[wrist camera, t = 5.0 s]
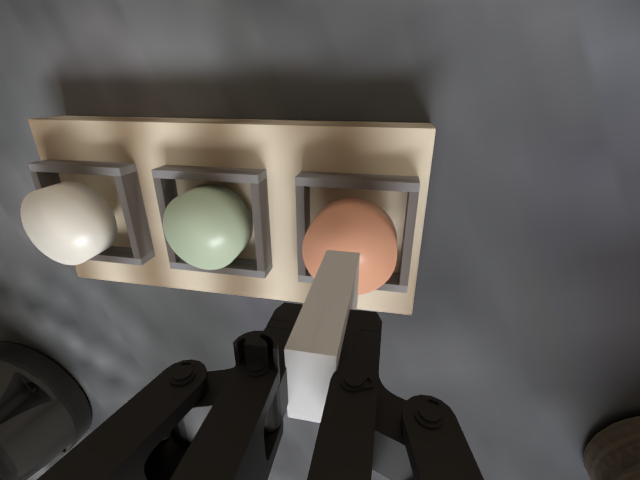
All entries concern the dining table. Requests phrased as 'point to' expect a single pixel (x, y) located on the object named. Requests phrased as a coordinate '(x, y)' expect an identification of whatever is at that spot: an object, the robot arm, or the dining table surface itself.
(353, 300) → the robot arm
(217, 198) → the sage button
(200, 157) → the button panel
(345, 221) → the terracotta button
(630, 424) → the beer stein
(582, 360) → the dining table surface
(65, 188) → the cream button
